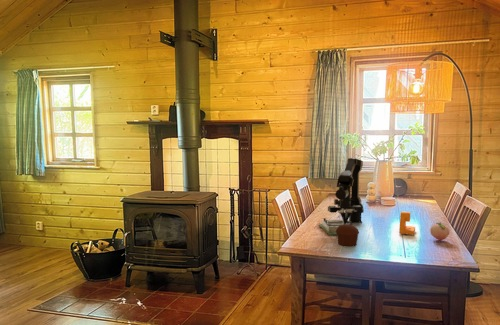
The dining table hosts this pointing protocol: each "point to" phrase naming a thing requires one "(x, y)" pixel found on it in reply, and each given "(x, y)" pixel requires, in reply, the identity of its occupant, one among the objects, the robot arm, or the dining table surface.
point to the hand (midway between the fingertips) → (344, 223)
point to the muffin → (347, 235)
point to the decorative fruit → (439, 231)
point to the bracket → (403, 228)
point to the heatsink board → (331, 229)
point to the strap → (336, 224)
